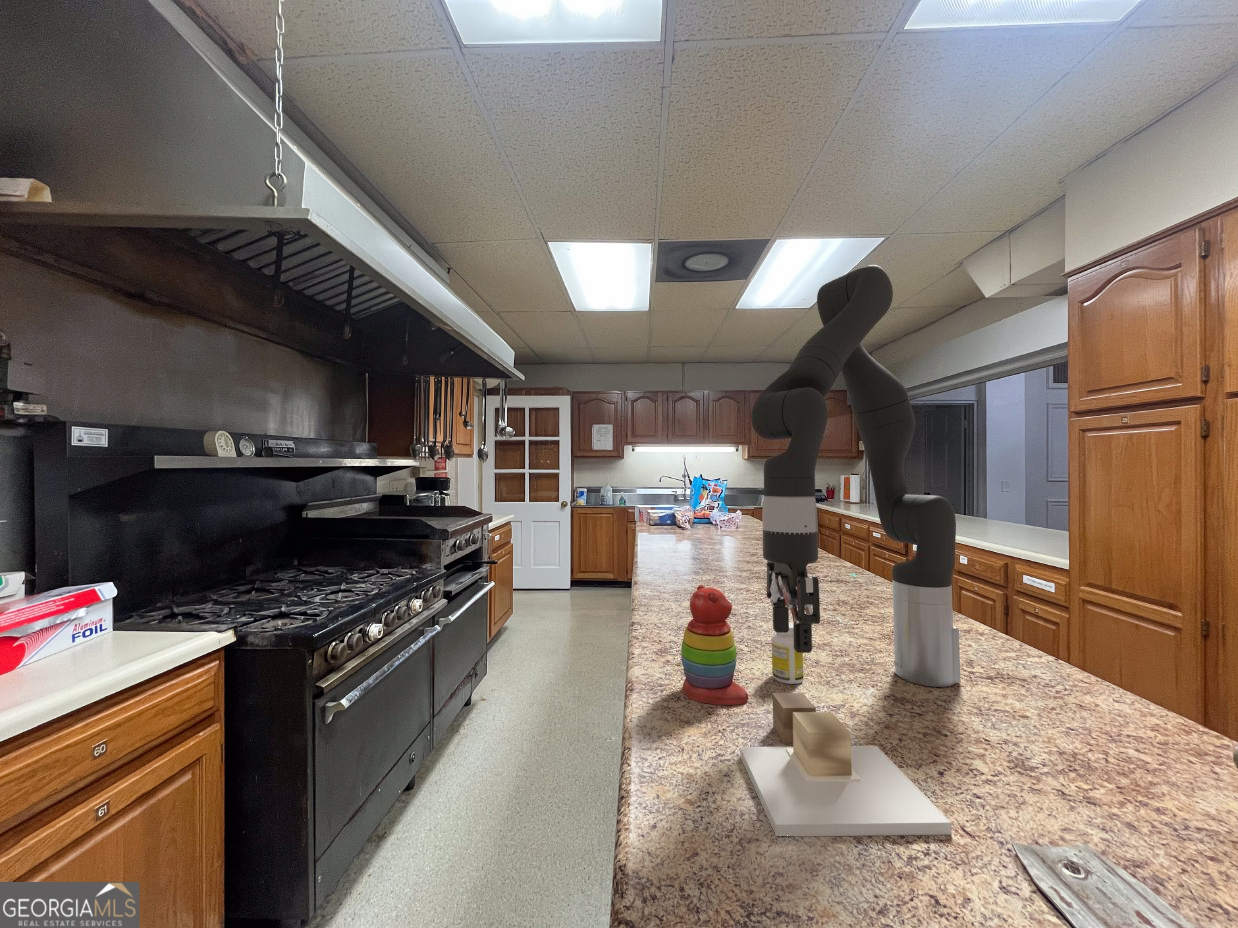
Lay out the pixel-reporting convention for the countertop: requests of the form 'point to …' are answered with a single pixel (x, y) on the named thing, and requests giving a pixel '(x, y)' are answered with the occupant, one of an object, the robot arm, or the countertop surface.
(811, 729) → the oak block
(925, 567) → the robot arm
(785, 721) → the walnut block
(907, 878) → the countertop surface
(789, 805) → the build board
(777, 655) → the supplement bottle
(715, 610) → the stacking bear
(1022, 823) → the countertop surface
